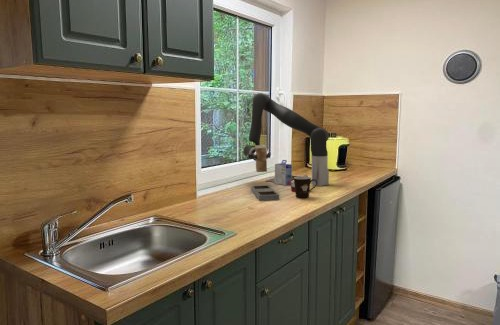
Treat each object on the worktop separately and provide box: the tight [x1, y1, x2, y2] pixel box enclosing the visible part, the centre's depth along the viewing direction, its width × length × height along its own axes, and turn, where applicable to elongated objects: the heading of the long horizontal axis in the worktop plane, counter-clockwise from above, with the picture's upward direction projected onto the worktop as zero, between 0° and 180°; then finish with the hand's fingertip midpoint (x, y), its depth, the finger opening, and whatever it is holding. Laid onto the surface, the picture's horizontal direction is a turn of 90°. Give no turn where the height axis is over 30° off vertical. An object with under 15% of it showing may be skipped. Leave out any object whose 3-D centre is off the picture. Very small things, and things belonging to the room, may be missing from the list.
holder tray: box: [250, 184, 280, 202], centre depth 195 cm, size 10×26×2 cm, turn 9°
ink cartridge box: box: [274, 159, 293, 186], centre depth 223 cm, size 10×6×14 cm, turn 39°
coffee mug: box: [293, 175, 318, 200], centre depth 187 cm, size 12×9×10 cm
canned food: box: [290, 174, 309, 193], centre depth 203 cm, size 11×10×10 cm
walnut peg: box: [254, 144, 268, 173], centre depth 201 cm, size 5×5×14 cm
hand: (261, 157), depth 198 cm, fingers closed on walnut peg, 5 cm apart
